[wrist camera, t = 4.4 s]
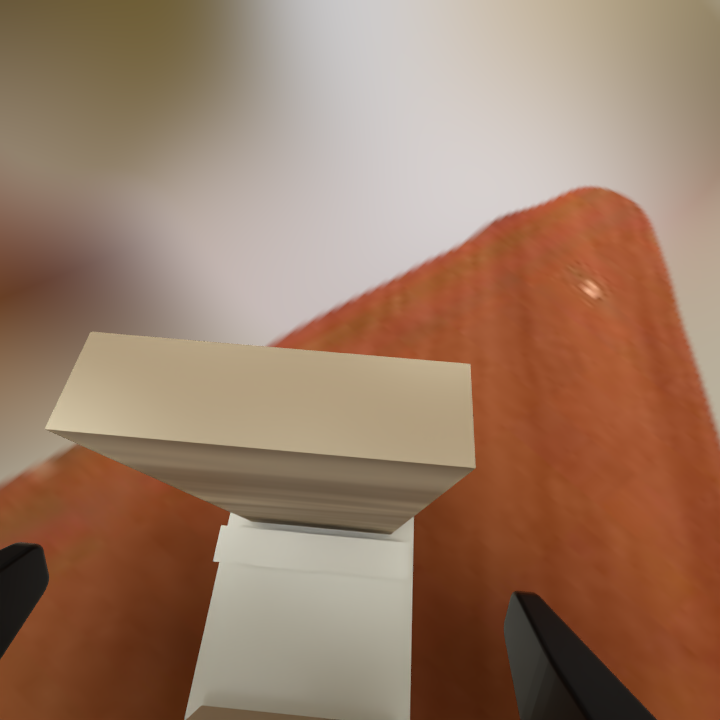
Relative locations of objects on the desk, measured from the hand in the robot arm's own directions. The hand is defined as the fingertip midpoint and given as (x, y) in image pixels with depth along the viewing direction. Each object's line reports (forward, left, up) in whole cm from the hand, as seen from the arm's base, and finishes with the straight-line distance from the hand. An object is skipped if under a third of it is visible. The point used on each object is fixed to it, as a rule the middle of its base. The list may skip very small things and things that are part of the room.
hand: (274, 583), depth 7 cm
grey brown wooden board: (+2, +2, -10) cm, 10 cm away
